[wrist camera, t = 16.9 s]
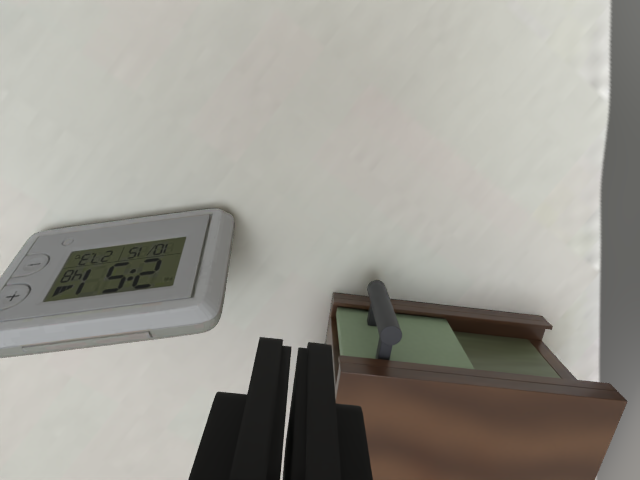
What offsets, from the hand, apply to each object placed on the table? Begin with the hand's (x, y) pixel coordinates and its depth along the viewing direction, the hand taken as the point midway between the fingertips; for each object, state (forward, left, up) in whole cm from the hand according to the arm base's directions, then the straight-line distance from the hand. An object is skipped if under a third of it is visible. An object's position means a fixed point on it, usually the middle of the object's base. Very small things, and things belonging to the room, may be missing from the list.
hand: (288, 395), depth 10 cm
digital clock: (+10, -10, -25) cm, 29 cm away
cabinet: (+12, +16, -25) cm, 32 cm away
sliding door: (+6, +10, -24) cm, 27 cm away
